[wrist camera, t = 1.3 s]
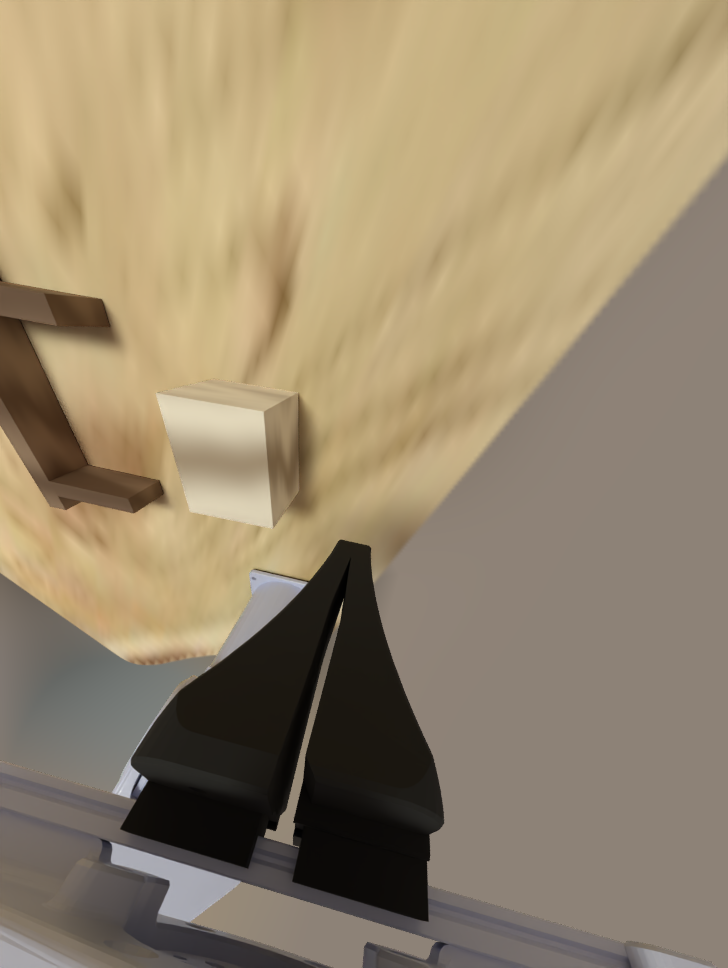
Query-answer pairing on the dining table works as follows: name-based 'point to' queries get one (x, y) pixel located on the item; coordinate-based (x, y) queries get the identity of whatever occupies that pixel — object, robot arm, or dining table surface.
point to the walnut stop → (54, 406)
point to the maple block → (234, 448)
